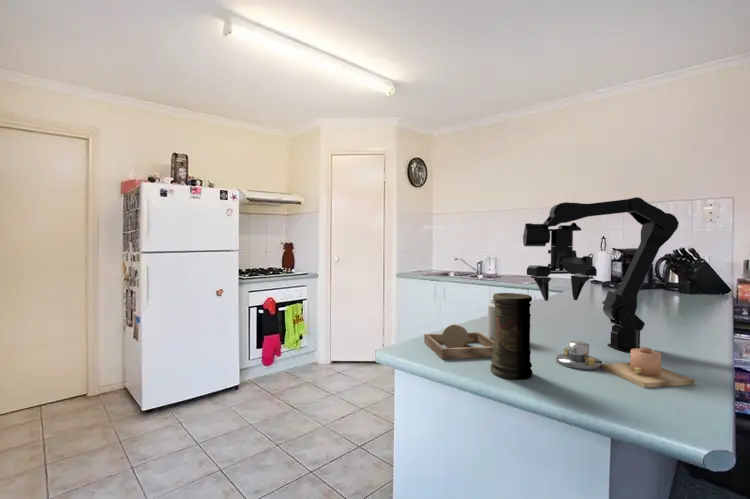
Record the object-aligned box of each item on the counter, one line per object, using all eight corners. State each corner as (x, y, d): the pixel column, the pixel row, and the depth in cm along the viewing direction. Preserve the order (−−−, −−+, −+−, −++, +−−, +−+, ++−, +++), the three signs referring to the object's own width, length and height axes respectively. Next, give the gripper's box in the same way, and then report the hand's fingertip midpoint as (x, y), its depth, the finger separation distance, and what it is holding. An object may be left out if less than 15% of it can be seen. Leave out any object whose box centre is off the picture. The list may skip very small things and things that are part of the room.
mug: (474, 344, 112) (477, 319, 107) (461, 367, 105) (464, 340, 100) (450, 335, 116) (452, 310, 111) (436, 356, 109) (438, 330, 104)
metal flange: (582, 356, 100) (583, 337, 100) (612, 369, 90) (612, 348, 90) (547, 358, 99) (548, 338, 98) (573, 371, 89) (573, 350, 89)
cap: (668, 372, 85) (669, 349, 85) (650, 379, 81) (651, 354, 81) (640, 364, 90) (641, 342, 90) (622, 371, 86) (622, 348, 86)
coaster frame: (478, 340, 116) (478, 332, 116) (504, 356, 100) (504, 346, 100) (424, 342, 113) (424, 334, 113) (441, 359, 97) (441, 349, 97)
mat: (645, 365, 93) (645, 361, 93) (694, 384, 81) (694, 379, 81) (601, 368, 91) (601, 364, 91) (643, 387, 79) (644, 382, 79)
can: (509, 336, 121) (510, 298, 121) (516, 342, 114) (516, 302, 114) (485, 335, 122) (486, 298, 122) (490, 341, 115) (490, 301, 114)
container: (486, 366, 92) (486, 292, 92) (523, 366, 92) (524, 292, 91) (496, 380, 83) (497, 297, 83) (538, 380, 83) (539, 298, 82)
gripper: (548, 247, 101) (547, 306, 101) (611, 247, 104) (610, 304, 104) (525, 246, 112) (525, 299, 112) (583, 246, 115) (582, 298, 115)
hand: (560, 300), depth 111 cm, fingers open, 9 cm apart
